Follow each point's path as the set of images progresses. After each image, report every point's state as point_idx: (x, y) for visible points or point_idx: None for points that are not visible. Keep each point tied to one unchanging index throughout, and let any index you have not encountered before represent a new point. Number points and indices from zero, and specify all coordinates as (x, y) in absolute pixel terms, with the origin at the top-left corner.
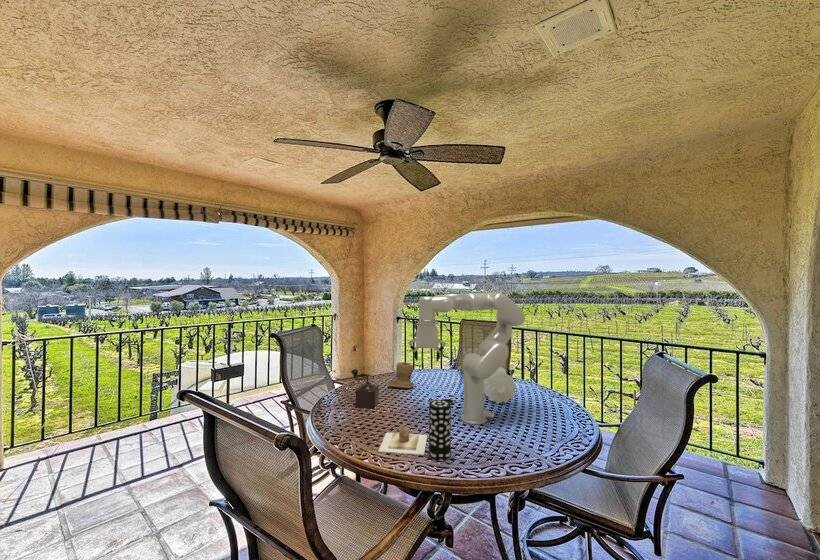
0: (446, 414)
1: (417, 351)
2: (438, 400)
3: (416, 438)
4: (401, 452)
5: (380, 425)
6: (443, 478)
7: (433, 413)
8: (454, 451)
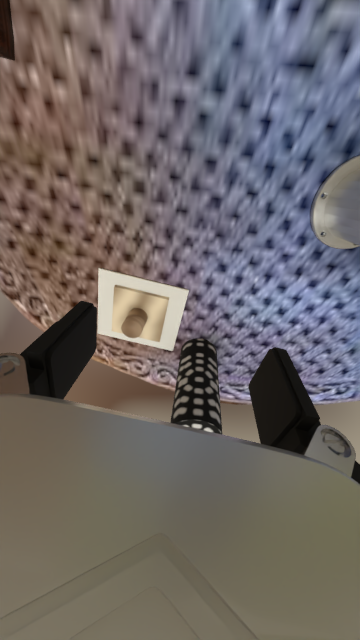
0: None
1: (52, 375)
2: (196, 423)
3: (162, 313)
4: (136, 342)
5: (76, 222)
6: None
7: None
8: (226, 346)
